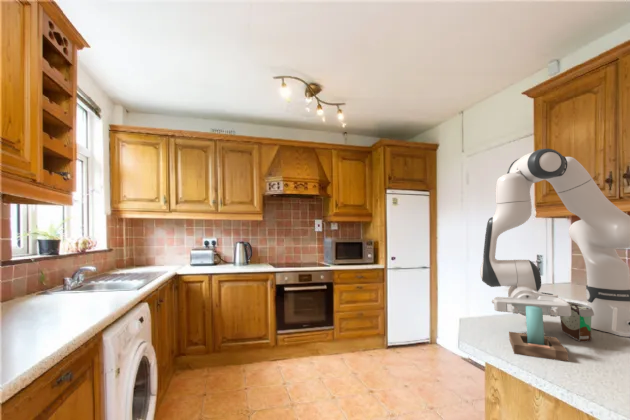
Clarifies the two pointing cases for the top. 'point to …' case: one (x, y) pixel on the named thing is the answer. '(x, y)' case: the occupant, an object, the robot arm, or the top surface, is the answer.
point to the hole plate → (538, 347)
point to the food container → (578, 322)
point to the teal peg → (534, 325)
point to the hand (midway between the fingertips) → (534, 312)
